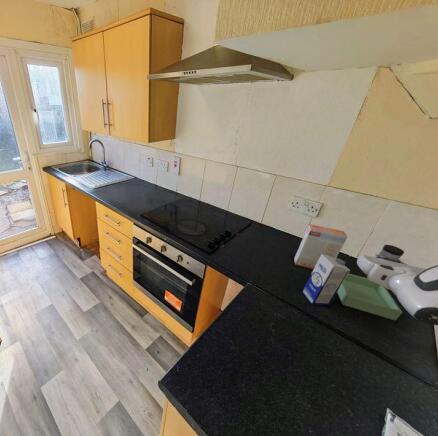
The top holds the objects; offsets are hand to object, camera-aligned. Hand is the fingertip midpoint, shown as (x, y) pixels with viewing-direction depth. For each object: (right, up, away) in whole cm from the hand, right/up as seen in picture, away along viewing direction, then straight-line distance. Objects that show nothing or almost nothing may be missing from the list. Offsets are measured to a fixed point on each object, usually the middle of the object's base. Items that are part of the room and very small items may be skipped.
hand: (385, 258), depth 86 cm
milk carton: (-22, -18, +7) cm, 29 cm away
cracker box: (-10, -9, +26) cm, 29 cm away
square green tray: (-1, -18, +9) cm, 20 cm away
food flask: (-1, -7, +2) cm, 7 cm away
